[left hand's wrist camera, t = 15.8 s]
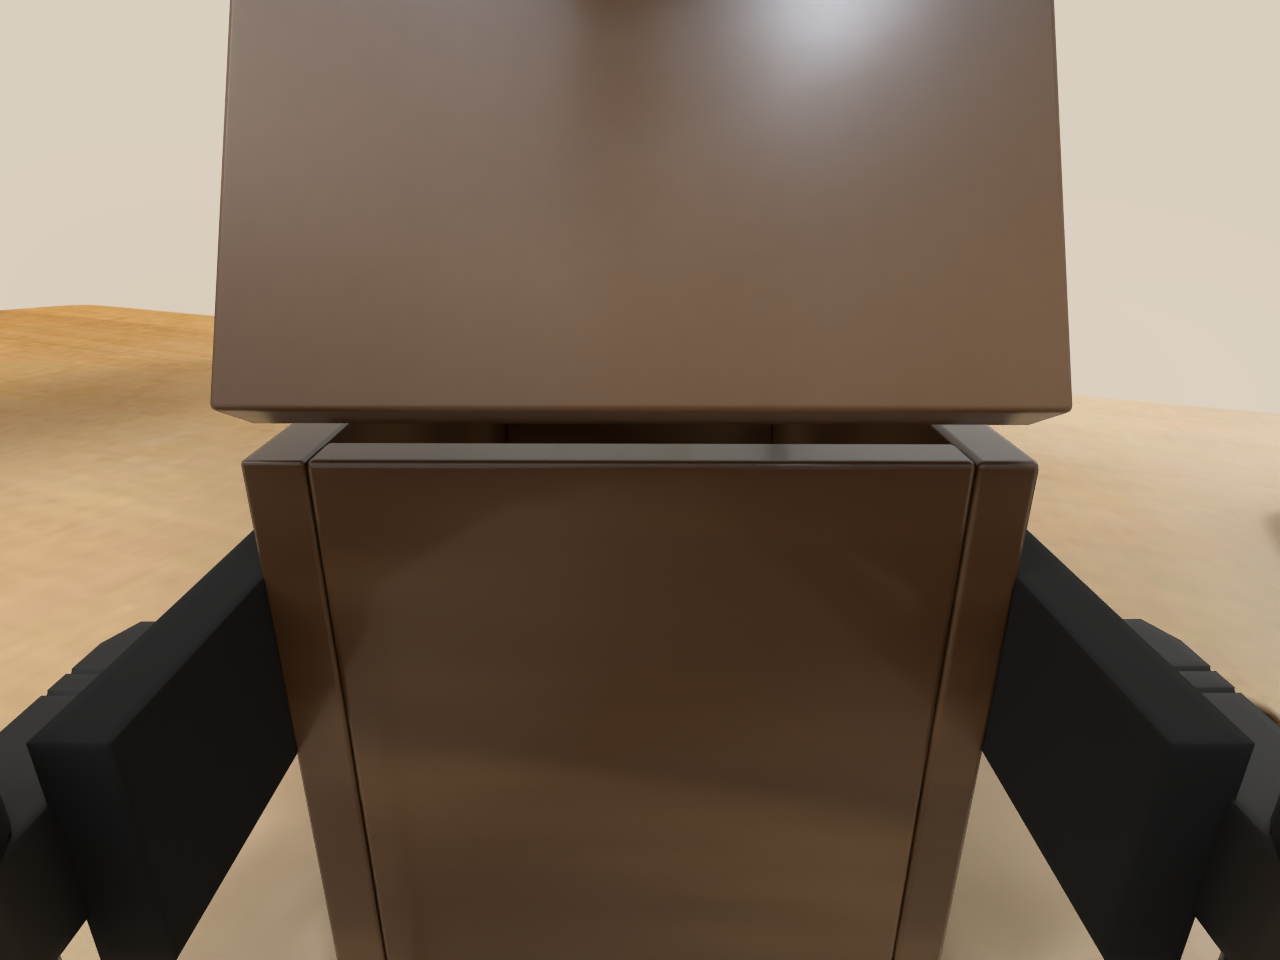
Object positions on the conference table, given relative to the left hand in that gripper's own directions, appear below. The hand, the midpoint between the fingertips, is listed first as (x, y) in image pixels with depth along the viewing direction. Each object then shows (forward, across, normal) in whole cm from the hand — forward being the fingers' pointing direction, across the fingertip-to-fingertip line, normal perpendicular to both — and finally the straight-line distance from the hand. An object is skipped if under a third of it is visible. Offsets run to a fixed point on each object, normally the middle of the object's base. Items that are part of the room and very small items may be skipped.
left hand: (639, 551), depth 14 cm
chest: (+4, 0, -7) cm, 8 cm away
